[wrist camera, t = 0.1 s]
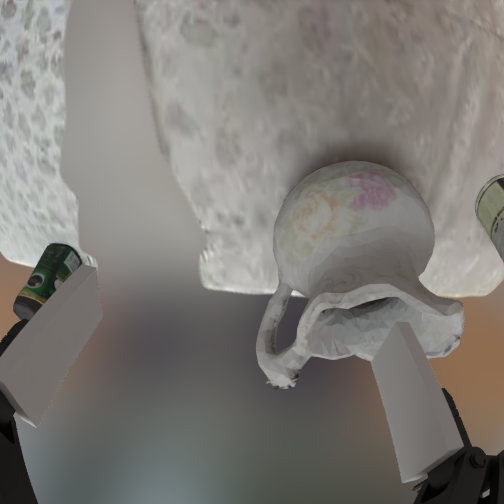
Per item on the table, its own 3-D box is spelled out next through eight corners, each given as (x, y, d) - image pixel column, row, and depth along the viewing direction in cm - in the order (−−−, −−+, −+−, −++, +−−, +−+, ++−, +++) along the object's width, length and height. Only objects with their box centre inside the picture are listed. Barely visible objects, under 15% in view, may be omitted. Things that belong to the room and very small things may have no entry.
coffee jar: (58, 264, 58) (24, 327, 45) (45, 241, 53) (4, 305, 40) (87, 269, 58) (52, 338, 45) (74, 243, 52) (31, 315, 39)
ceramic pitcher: (316, 264, 50) (328, 408, 33) (231, 200, 41) (206, 378, 24) (423, 200, 38) (486, 352, 21) (356, 102, 28) (462, 276, 12)
